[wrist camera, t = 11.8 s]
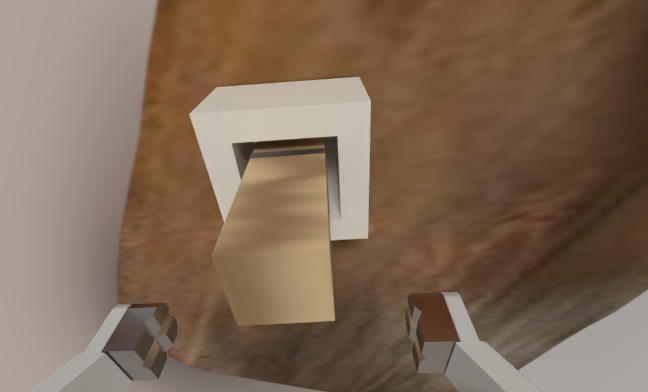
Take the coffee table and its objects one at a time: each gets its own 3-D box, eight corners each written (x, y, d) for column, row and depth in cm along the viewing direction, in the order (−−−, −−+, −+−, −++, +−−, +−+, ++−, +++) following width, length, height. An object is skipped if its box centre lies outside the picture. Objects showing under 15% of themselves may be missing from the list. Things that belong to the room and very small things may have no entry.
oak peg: (324, 120, 20) (330, 248, 10) (327, 173, 22) (335, 321, 12) (262, 124, 20) (209, 256, 10) (272, 177, 22) (236, 326, 12)
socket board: (359, 76, 19) (370, 101, 15) (359, 195, 24) (367, 238, 20) (216, 87, 19) (189, 113, 15) (246, 202, 24) (232, 246, 20)
